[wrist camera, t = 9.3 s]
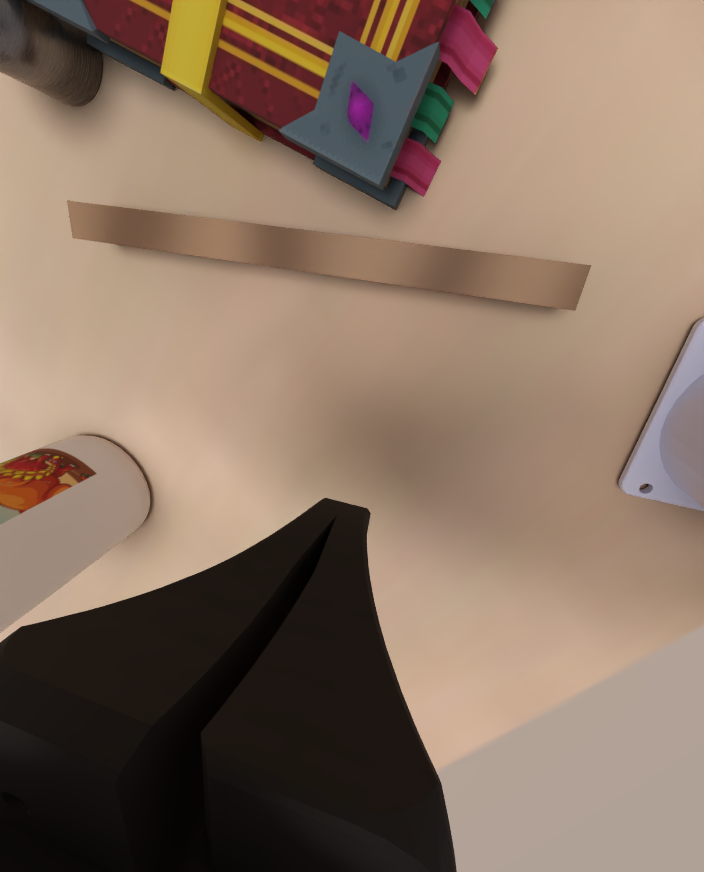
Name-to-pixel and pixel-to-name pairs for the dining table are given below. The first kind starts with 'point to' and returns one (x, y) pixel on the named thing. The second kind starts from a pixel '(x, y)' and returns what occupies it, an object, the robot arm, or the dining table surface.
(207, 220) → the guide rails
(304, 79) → the decorative book
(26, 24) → the boss posts
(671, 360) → the dining table surface
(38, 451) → the milk bottle
